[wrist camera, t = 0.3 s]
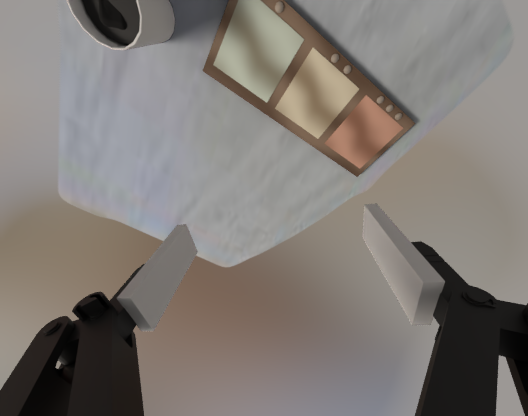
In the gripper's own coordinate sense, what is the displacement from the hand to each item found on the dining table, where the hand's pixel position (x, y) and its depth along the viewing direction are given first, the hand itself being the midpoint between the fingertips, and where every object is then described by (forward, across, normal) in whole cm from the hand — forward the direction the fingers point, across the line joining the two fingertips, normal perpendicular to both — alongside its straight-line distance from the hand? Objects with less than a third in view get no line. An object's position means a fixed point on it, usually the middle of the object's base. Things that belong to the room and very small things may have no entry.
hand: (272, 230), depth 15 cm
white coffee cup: (+21, -14, +21) cm, 33 cm away
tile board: (+24, +7, +8) cm, 26 cm away
